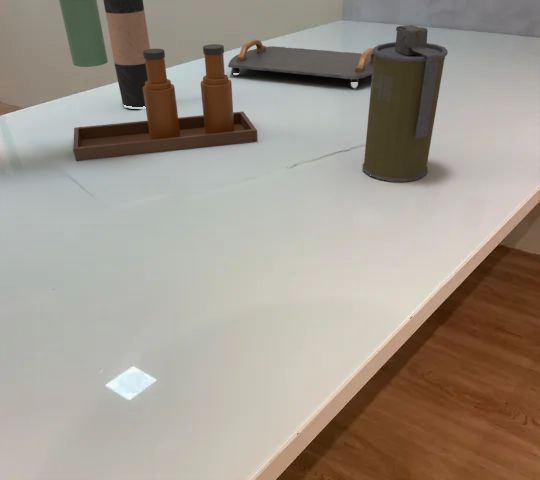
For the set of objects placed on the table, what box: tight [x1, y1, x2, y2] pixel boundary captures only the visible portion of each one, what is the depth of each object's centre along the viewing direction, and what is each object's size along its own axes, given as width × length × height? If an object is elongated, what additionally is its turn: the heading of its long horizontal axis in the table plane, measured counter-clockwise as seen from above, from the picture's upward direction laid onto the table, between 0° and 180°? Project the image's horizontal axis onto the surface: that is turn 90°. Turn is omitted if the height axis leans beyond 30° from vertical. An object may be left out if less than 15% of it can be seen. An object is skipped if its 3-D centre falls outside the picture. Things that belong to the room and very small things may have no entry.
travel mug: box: [102, 0, 151, 107], centre depth 114 cm, size 8×8×20 cm
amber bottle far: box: [200, 43, 234, 134], centre depth 98 cm, size 5×5×14 cm
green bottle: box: [58, 0, 109, 68], centre depth 84 cm, size 5×5×14 cm
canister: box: [362, 24, 449, 183], centre depth 84 cm, size 11×10×20 cm
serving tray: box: [227, 38, 374, 82], centre depth 137 cm, size 39×23×6 cm, turn 64°
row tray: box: [72, 111, 258, 162], centre depth 101 cm, size 32×12×3 cm, turn 104°
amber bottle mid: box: [143, 48, 180, 140], centre depth 97 cm, size 5×5×14 cm
